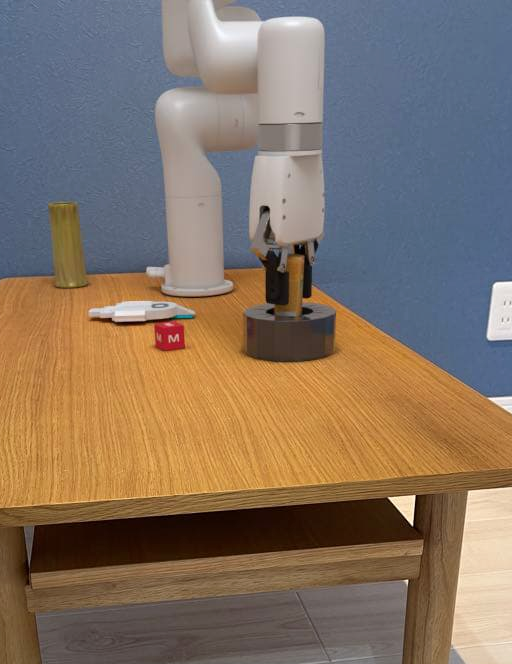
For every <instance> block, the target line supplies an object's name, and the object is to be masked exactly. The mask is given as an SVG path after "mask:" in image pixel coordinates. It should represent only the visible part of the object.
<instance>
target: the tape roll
mask: <svg viewBox="0 0 512 664" xmlns="http://www.w3.org/2000/svg"><path fill="white" fill-rule="evenodd" d="M274 307H275V304H269V303H263V304H256V305H254V306H251V307H248V308H247V307H246V309H245V310H244V311H243V312H242V315H243V316H242V323H243V324H242V325H243V327H242V328H243V330H242V331H243V333H242V334H243V350H244V353H245V354H246V355H247V356H249V357H251V358H253V359H257V360H261V361H266V362H267V361H268V362H277V363H278V362H279V363H280V362H281V363H293V362H294V363H295V362H309V361H314V360H320V359H323V358H326V357H329V356H331V355H333V354H334V353H335V348H336V333H337V331H336V328H337V309H335V308H334V307H332V306H329V305H325V304H322V303H313V302H305V301H302V316H275V315H274Z"/></svg>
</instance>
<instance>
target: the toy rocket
mask: <svg viewBox="0 0 512 664" xmlns="http://www.w3.org/2000/svg"><path fill="white" fill-rule="evenodd" d="M195 314H196V311H194V310H192V309H189V308H187V307H184V306H182V305H179V304H178V303H176V302H172V301H153V300H135V301H133V300H131V301H121V302H117V303H116V304H115V305H106V306H104V307H98V308H97V307H93V308H90V310H88V317H99V318H100V319H108V318H111V321H113V322H114V323H122V322H147V321H153V320H164V319H169V318H171V319H193V318H194V315H195Z"/></svg>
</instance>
